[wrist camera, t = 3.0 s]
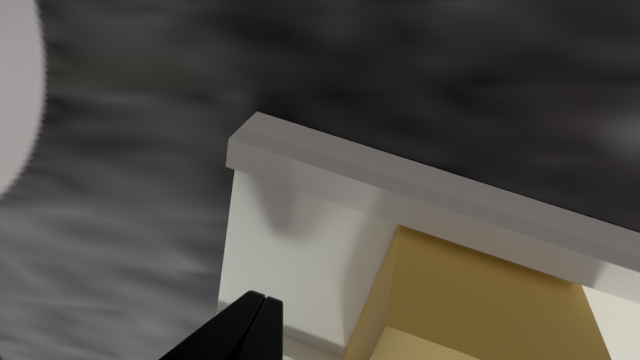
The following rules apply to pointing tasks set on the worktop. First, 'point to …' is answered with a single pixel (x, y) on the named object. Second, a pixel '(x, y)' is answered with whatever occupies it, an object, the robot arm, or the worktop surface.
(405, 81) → the worktop surface
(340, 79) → the worktop surface
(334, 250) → the rail
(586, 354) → the carriage
